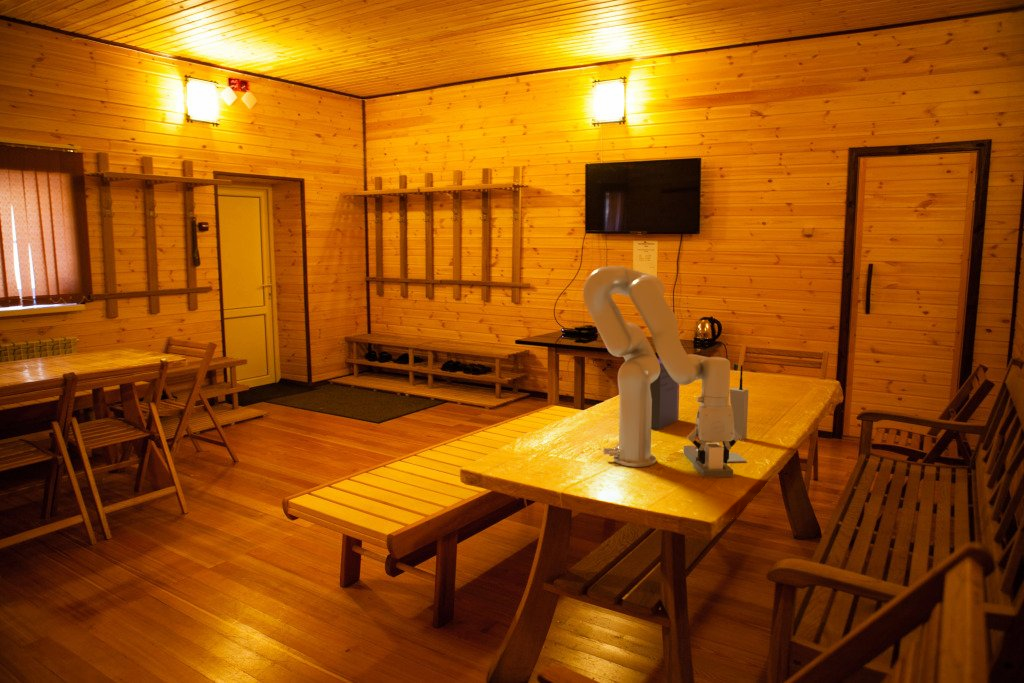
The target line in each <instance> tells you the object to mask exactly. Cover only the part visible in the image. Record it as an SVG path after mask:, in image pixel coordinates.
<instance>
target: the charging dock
mask: <svg viewBox="0 0 1024 683" xmlns="http://www.w3.org/2000/svg"><path fill="white" fill-rule="evenodd" d="M684 455H685V456H686V457H687V458H688V459H689V460H690V461H691V462H692V463H693V464H692V463H691V462H690V461H689V460H688V459H687V458H686V457H685V456H684ZM683 456H684V457H685V458H686V459H687V460H688V461H689V462H690V463H691V464H692V466H693V469H695V471H696V470H697V471H698V472H699V473H700V474H701V475H702V476H703V477H720V478H734V469H733V468H732V467H730V466H729V465H728V463H727V464H725V463H724V462H723V469H707V468H706V467H705V466H704V465H703V464H702V463H701V462H700V461H699V460H698V448H697V447H696V446H695V445H694V444H693V445H684V446H683ZM698 472H697V473H698ZM699 473H698V474H699ZM700 474H699V475H700ZM701 475H700V476H701ZM702 476H701V477H702Z"/></svg>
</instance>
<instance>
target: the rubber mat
mask: <svg viewBox="0 0 1024 683" xmlns="http://www.w3.org/2000/svg"><path fill="white" fill-rule="evenodd" d="M727 462H735V464H739V462H740V463H741V464H742V463H743V462H744V463H747V460H746V459H745V458H743V456H741V455H740V454H739V453H738V452H729V460H728V461H727Z"/></svg>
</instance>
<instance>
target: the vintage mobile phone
mask: <svg viewBox="0 0 1024 683" xmlns="http://www.w3.org/2000/svg"><path fill="white" fill-rule="evenodd" d="M743 366H744V365H743V364H742V365H740V375H739V376H740V378H739V388H738V387H733V388H729V404H730V406H732V410H733V418H734V429H735V430H736V431H737V432H738V434H739V435H740V436H741V438H740V439H741V440H740V441H743V440H745V439H746V438H747V437H748V434H747V433H748V410H749V409H748V408H749V389H747V388H743V370H744V369H743V368H744V367H743Z"/></svg>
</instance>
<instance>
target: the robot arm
mask: <svg viewBox="0 0 1024 683" xmlns="http://www.w3.org/2000/svg"><path fill="white" fill-rule="evenodd" d="M665 291H666V288H665V284H664V282H663V281H662V280H661V278H660V277H657V276H656V275H652V274H649V273H645V272H642V271H638V270H635V269H632V268H628V267H624V266H620V265H611V266H602V267H598V268H597V269H595V270H593V271H592V272H591V273H590V274H589V276H587V279H586V280H585V282H584V285H583V289H582V297H583V302H584V304H585V308H586V309H587V311H588V313H589V315H590V317H591V318H592V321H593V323H594V325H595V327H596V329H597V332H598V334H599V335H600V338H601V340H602V341H603V343H604V346H605V347H606V349H607V352H608V353H609V354H611V355H612V356H614V357H617V358H622V357H623V359H624V362H622V364H620V368H619V369H618V372H617V386H618V398H619V400H618V401H619V407H618V408H619V412H618V413H619V415H618V416H619V418H618V419H619V421H618V426H619V428H618V432H619V433H618V443H617V444H616V446H613V447H604V448H603V449H602V452H603V455H608V456H610V457H613V460H614V462H615V463H616V464H618V465H621V466H626V467H634V468H640V467H649V466H653V465H654V464H656V462H657V458H656V456H655V455H654V454H652V449H651V448H652V429H651V418H652V400H651V391H650V384H651V383H653V382H654V381H655V380H656V379H657V378H658V376H659V374H660V364H659V361H658V359H660V360H661V362H662V364H663V365H664V367H665V369H666V370H667V372H668V374H669V375H670V377H671V378H672V379H673V380H674V381H675V382H677V383H678V384H679V385H681V386H687V385H691V384H692V383H694V382H695V381H698V380H701V394H700V396H699V397H698V396H697V397H696V402H697V403H700V404H699V405H698V409H697V412H696V418H695V427H694V428H693V429H692V431H691V432H690V433H689V434H687V435H686V438H687V440H689V441H690V442H691V444H693V445H695V446H696V447H697V448H698V460H699V461H700V462H701V463H702V464H705V450H704V447H705V444H706V443H719V442H720V443H721V442H722V445H723V446H722V447H723V448H724V451H723V462H724V463H725V464H727V465H728V463H727V461H728V460H729V453H730V451H731V449H732V447H733V446H734V445H735V444H736V443H737V442H738V441H740V440H739V439H740V438H741V436H740V435H739V434H738V432H737V431H736V430H735V429H734V418H733V410H732V406H731V404H730V384H731V383H730V382H731V380H730V379H731V362H730V360H729V359H727V358H725V357H721V356H710V357H708V356H703V355H699V354H692V353H689V354H687V352H686V350H685V349H684V346H683V344H682V342H681V340H680V337H679V331H678V329H679V324H678V322H679V321H678V319H677V316H676V315H675V313H674V311H673V309H672V308H671V306H670V305H669V303H668V301H667V300H666V298H665V293H666V292H665ZM615 294H618V295H620V296H621V295H622V296H625V297H628V298H630V300H631V302H632V304H633V305H634V307H635V308H636V311H637V312H638V313H639V315H640V317H641V319H642V320H643V321H644V323H645V326H646V327H647V329H648V330H649V332H650V334H651V337H652V338H651V339H652V342H653V345H654V347H655V349H656V352H655V351H654V349H653V346H652V345H651V343H650V341H649V340H648V338H647V335H646V334H645V332H644V331H643V330H642V329H641V327H639V325H637V324H636V323H633V322H627V320H625V318H624V316H623V314H622V311H621V310H620V308H619V306H618V305H617V304H616V302H615V301H614V299H613V298H612V297H613V295H615ZM656 353H657V355H656ZM657 356H658V357H657ZM695 437H696V438H697V439H698V441H697V440H696V439H695Z"/></svg>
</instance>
